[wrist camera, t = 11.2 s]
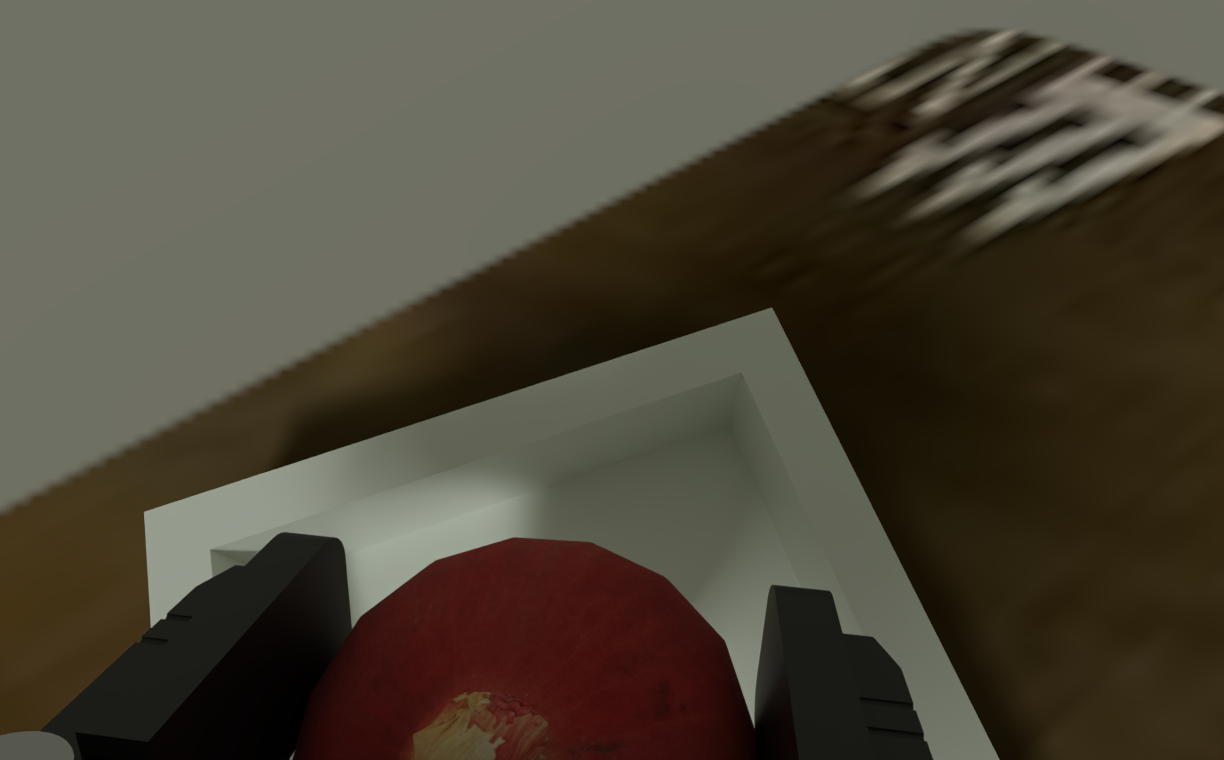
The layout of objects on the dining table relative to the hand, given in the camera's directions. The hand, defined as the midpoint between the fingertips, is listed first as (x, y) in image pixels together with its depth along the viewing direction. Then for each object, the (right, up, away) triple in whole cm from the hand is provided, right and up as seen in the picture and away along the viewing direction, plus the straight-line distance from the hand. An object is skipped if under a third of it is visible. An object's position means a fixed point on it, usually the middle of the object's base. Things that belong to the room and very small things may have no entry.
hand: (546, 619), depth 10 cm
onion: (0, -4, +3) cm, 5 cm away
